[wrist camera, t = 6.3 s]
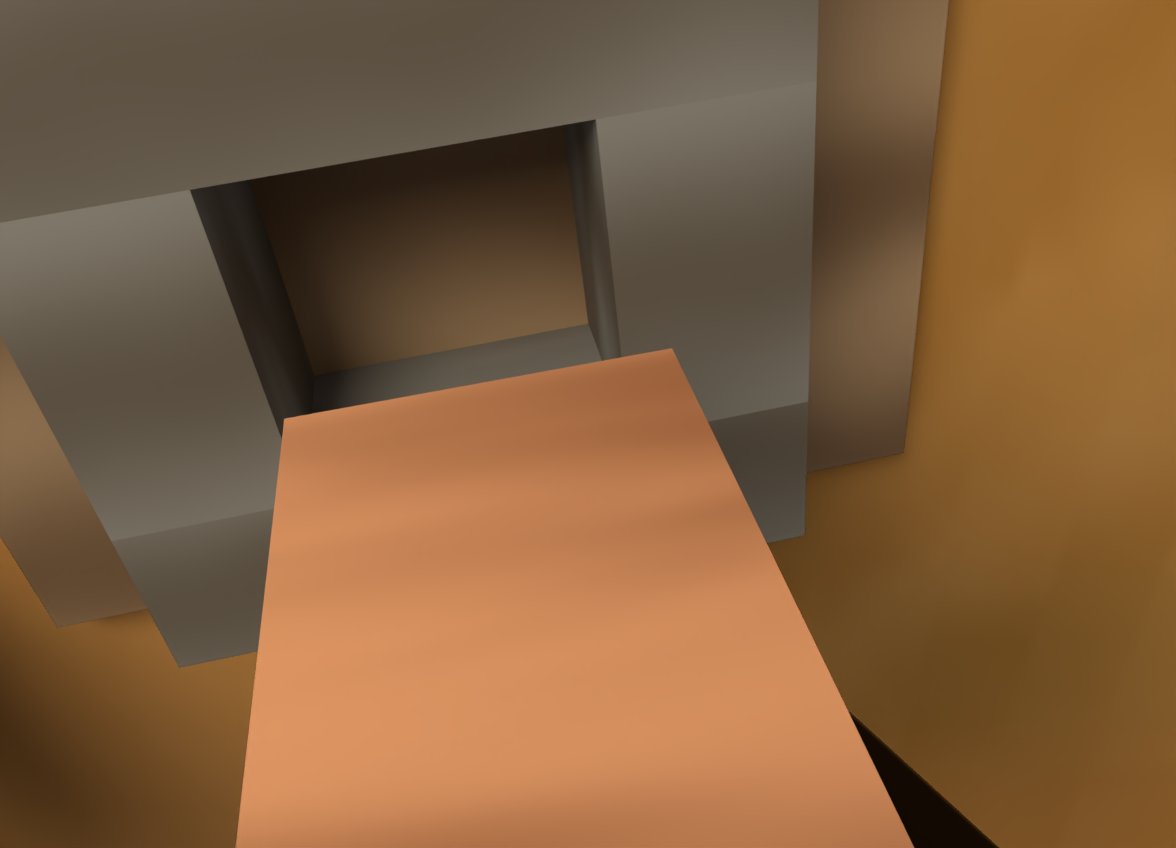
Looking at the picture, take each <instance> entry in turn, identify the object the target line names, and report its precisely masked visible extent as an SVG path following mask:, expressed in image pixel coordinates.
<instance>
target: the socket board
mask: <svg viewBox="0 0 1176 848" xmlns="http://www.w3.org/2000/svg"><path fill="white" fill-rule="evenodd" d="M948 4H949V0H0V537H1V539H2V540H3V542H4V543H5V545H6V547H7V548H8V550H9V551H10V553H11V554H12V556H13V558H14V559H15V561H16V562H17V564H18V566H19V567H20V569H21V570H22V572H23V574H24V575H25V577H26V578H27V580H28V582H29V583H30V585H31V586H32V588H33V590H34V591H35V593H36V594H37V596H38V598H39V599H40V601H41V602H42V604H43V606H44V607H45V609H46V610H47V612H48V614H49V615H50V617H51V618H52V620H53V622H54V623H55V625H56V626H57V628H58V627H63V626H68V625H73V624H78V623H82V622H87V621H92V620H97V619H102V618H107V617H111V616H116V615H121V614H126V613H131V612H136V611H141V610H145V609H148V610H149V612H150V614H151V616H152V618H153V620H154V621H155V623H156V625H157V627H158V629H159V631H160V633H161V634H162V636H163V638H164V640H165V642H166V644H167V646H168V647H169V649H170V651H171V653H172V655H173V657H174V659H175V660H176V662H177V664H178V666H179V668H181V667H185V666H190V665H195V664H200V663H204V662H209V661H214V660H219V659H223V658H228V657H233V656H237V655H242V654H247V653H252V652H256V651H258V646H259V637H260V628H261V620H262V611H263V602H264V593H265V584H266V575H267V567H268V558H269V549H270V540H271V531H272V523H273V514H274V505H275V496H276V487H277V478H278V470H279V461H280V452H281V443H282V434H283V425H284V419H286V418H291V417H297V416H302V415H308V414H313V413H319V412H324V411H330V410H335V409H341V408H346V407H352V406H357V405H363V404H368V403H374V402H379V401H385V400H390V399H396V398H401V397H407V396H412V395H418V394H423V393H429V392H434V391H440V390H445V389H451V388H456V387H462V386H467V385H472V384H478V383H483V382H489V381H494V380H500V379H505V378H511V377H516V376H522V375H527V374H533V373H538V372H544V371H549V370H555V369H560V368H566V367H571V366H577V365H582V364H588V363H593V362H599V361H604V360H610V359H615V358H621V357H626V356H632V355H637V354H643V353H648V352H654V351H659V350H665V349H670V348H672V349H673V351H674V353H675V355H676V357H677V360H678V362H679V364H680V366H681V368H682V370H683V372H684V374H685V376H686V378H687V380H688V382H689V384H690V386H691V388H692V390H693V393H694V395H695V397H696V399H697V401H698V403H699V405H700V407H701V409H702V411H703V413H704V415H705V417H706V419H707V421H708V423H709V426H710V428H711V430H712V432H713V434H714V436H715V438H716V440H717V442H718V444H719V446H720V448H721V450H722V452H723V454H724V456H725V459H726V461H727V463H728V465H729V467H730V469H731V471H732V473H733V475H734V477H735V479H736V481H737V483H738V485H739V487H740V489H741V491H742V494H743V496H744V498H745V500H746V502H747V504H748V506H749V508H750V510H751V512H752V514H753V516H754V518H755V520H756V522H757V524H758V527H759V529H760V531H761V533H762V535H763V537H764V539H765V541H766V543H771V542H776V541H781V540H785V539H790V538H795V537H800V536H804V535H805V506H806V473H809V472H814V471H819V470H823V469H828V468H833V467H838V466H843V465H848V464H852V463H857V462H862V461H867V460H872V459H877V458H881V457H886V456H891V455H896V454H901V453H904V446H905V436H906V426H907V416H908V406H909V395H910V385H911V375H912V365H913V355H914V345H915V335H916V325H917V315H918V305H919V295H920V285H921V275H922V265H923V255H924V245H925V235H926V225H927V215H928V205H929V195H930V185H931V175H932V165H933V155H934V145H935V135H936V125H937V115H938V105H939V95H940V84H941V74H942V64H943V54H944V44H945V34H946V24H947V14H948Z"/></svg>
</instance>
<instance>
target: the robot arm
mask: <svg viewBox="0 0 1176 848" xmlns="http://www.w3.org/2000/svg"><path fill="white" fill-rule="evenodd" d="M848 712H849V711H848ZM849 714H850V716H851V718H852V720H853V722H854V724H855V727H856V729H857V731H858V733H859V735H860V737H861V739H862V741H863V743H864V745H865V747H866V749H867V751H868V753H869V755H870V757H871V760H872V762H873V764H874V766H875V768H876V770H877V772H878V774H879V776H880V778H881V780H882V782H883V784H884V786H885V788H886V790H887V793H888V795H889V797H890V799H891V801H892V803H893V805H894V807H895V809H896V811H897V813H898V815H899V817H900V819H901V821H902V823H903V826H904V828H905V830H906V832H907V834H908V836H909V838H910V840H911V842H912V844H913V846H914V848H999V847H998V846H997V845H995V844H994V843H993V842H992V841H991V840H990V839H989V838H988V837H987V836H986V835H984V834H983V833H982V832H981V831H980V830H979V829H978V828H977V827H976V826H975V825H973V824H972V823H971V822H970V821H969V820H968V819H967V818H966V817H965V816H964V815H962V814H961V813H960V812H959V811H958V810H957V809H956V808H955V807H954V806H953V805H952V804H950V803H949V802H948V801H947V800H946V799H945V798H944V797H943V796H942V795H941V794H939V793H938V792H937V791H936V790H935V789H934V788H933V787H932V786H931V785H930V784H928V783H927V782H926V781H925V780H924V779H923V778H922V777H921V776H920V775H919V774H917V773H916V772H915V771H914V770H913V769H912V768H911V767H910V766H909V765H908V764H906V763H905V762H904V761H903V760H902V759H901V758H900V757H899V756H898V755H897V754H895V753H894V752H893V751H892V750H891V749H890V748H889V747H888V746H887V745H886V744H884V743H883V742H882V741H881V740H880V739H879V738H878V737H877V736H876V735H875V734H873V733H872V732H871V731H870V730H869V729H868V728H867V727H866V726H865V725H864V724H863V723H861V722H860V721H859V720H858V719H857V718H856V717H855V716H854V715H853V714H852V713H850V712H849Z"/></svg>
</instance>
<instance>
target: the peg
mask: <svg viewBox="0 0 1176 848" xmlns="http://www.w3.org/2000/svg"><path fill="white" fill-rule="evenodd" d="M236 848H914V846H913V844H912V842H911V840H910V838H909V836H908V834H907V832H906V830H905V828H904V826H903V823H902V821H901V819H900V817H899V815H898V813H897V811H896V809H895V807H894V805H893V803H892V801H891V799H890V797H889V795H888V793H887V790H886V788H885V786H884V784H883V782H882V780H881V778H880V776H879V774H878V772H877V770H876V768H875V766H874V764H873V762H872V760H871V757H870V755H869V753H868V751H867V749H866V747H865V745H864V743H863V741H862V739H861V737H860V735H859V733H858V731H857V729H856V727H855V724H854V722H853V720H852V718H851V716H850V714H849V712H848V710H847V708H846V706H845V704H844V702H843V700H842V698H841V696H840V694H839V692H838V689H837V687H836V685H835V683H834V681H833V679H832V677H831V675H830V673H829V671H828V669H827V667H826V665H825V663H824V661H823V659H822V656H821V654H820V652H819V650H818V648H817V646H816V644H815V642H814V640H813V638H812V636H811V634H810V632H809V630H808V628H807V626H806V623H805V621H804V619H803V617H802V615H801V613H800V611H799V609H798V607H797V605H796V603H795V601H794V599H793V597H792V595H791V593H790V590H789V588H788V586H787V584H786V582H785V580H784V578H783V576H782V574H781V572H780V570H779V568H778V566H777V564H776V562H775V560H774V557H773V555H772V553H771V551H770V549H769V547H768V545H767V543H766V541H765V539H764V537H763V535H762V533H761V531H760V529H759V527H758V524H757V522H756V520H755V518H754V516H753V514H752V512H751V510H750V508H749V506H748V504H747V502H746V500H745V498H744V496H743V494H742V491H741V489H740V487H739V485H738V483H737V481H736V479H735V477H734V475H733V473H732V471H731V469H730V467H729V465H728V463H727V461H726V459H725V456H724V454H723V452H722V450H721V448H720V446H719V444H718V442H717V440H716V438H715V436H714V434H713V432H712V430H711V428H710V426H709V423H708V421H707V419H706V417H705V415H704V413H703V411H702V409H701V407H700V405H699V403H698V401H697V399H696V397H695V395H694V393H693V390H692V388H691V386H690V384H689V382H688V380H687V378H686V376H685V374H684V372H683V370H682V368H681V366H680V364H679V362H678V360H677V357H676V355H675V353H674V351H673V349H672V348H670V349H665V350H659V351H654V352H648V353H643V354H637V355H632V356H626V357H621V358H615V359H610V360H604V361H599V362H593V363H588V364H582V365H577V366H571V367H566V368H560V369H555V370H549V371H544V372H538V373H533V374H527V375H522V376H516V377H511V378H505V379H500V380H494V381H489V382H483V383H478V384H472V385H467V386H462V387H456V388H451V389H445V390H440V391H434V392H429V393H423V394H418V395H412V396H407V397H401V398H396V399H390V400H385V401H379V402H374V403H368V404H363V405H357V406H352V407H346V408H341V409H335V410H330V411H324V412H319V413H313V414H308V415H302V416H297V417H291V418H286V419H284V425H283V434H282V443H281V452H280V461H279V470H278V478H277V487H276V496H275V505H274V514H273V523H272V531H271V540H270V549H269V558H268V567H267V575H266V584H265V593H264V602H263V611H262V620H261V628H260V637H259V646H258V655H257V664H256V673H255V681H254V690H253V699H252V708H251V717H250V726H249V734H248V743H247V752H246V761H245V770H244V778H243V787H242V796H241V805H240V814H239V823H238V831H237V840H236Z"/></svg>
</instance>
